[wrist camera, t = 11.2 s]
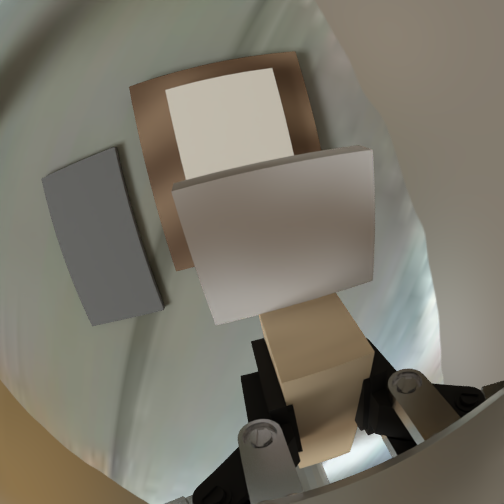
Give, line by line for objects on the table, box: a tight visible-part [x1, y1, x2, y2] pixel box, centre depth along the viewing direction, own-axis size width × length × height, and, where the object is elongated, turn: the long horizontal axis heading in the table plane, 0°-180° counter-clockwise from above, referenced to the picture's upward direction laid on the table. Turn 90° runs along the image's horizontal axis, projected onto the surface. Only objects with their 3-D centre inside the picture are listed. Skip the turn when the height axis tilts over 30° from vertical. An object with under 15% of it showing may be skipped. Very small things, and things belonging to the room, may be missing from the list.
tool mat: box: [42, 147, 165, 326], centre depth 23 cm, size 15×8×1 cm, turn 13°
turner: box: [171, 145, 375, 468], centre depth 9 cm, size 13×6×4 cm, turn 12°
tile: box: [165, 68, 294, 180], centre depth 20 cm, size 2×8×8 cm
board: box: [129, 52, 321, 271], centre depth 22 cm, size 16×14×2 cm
